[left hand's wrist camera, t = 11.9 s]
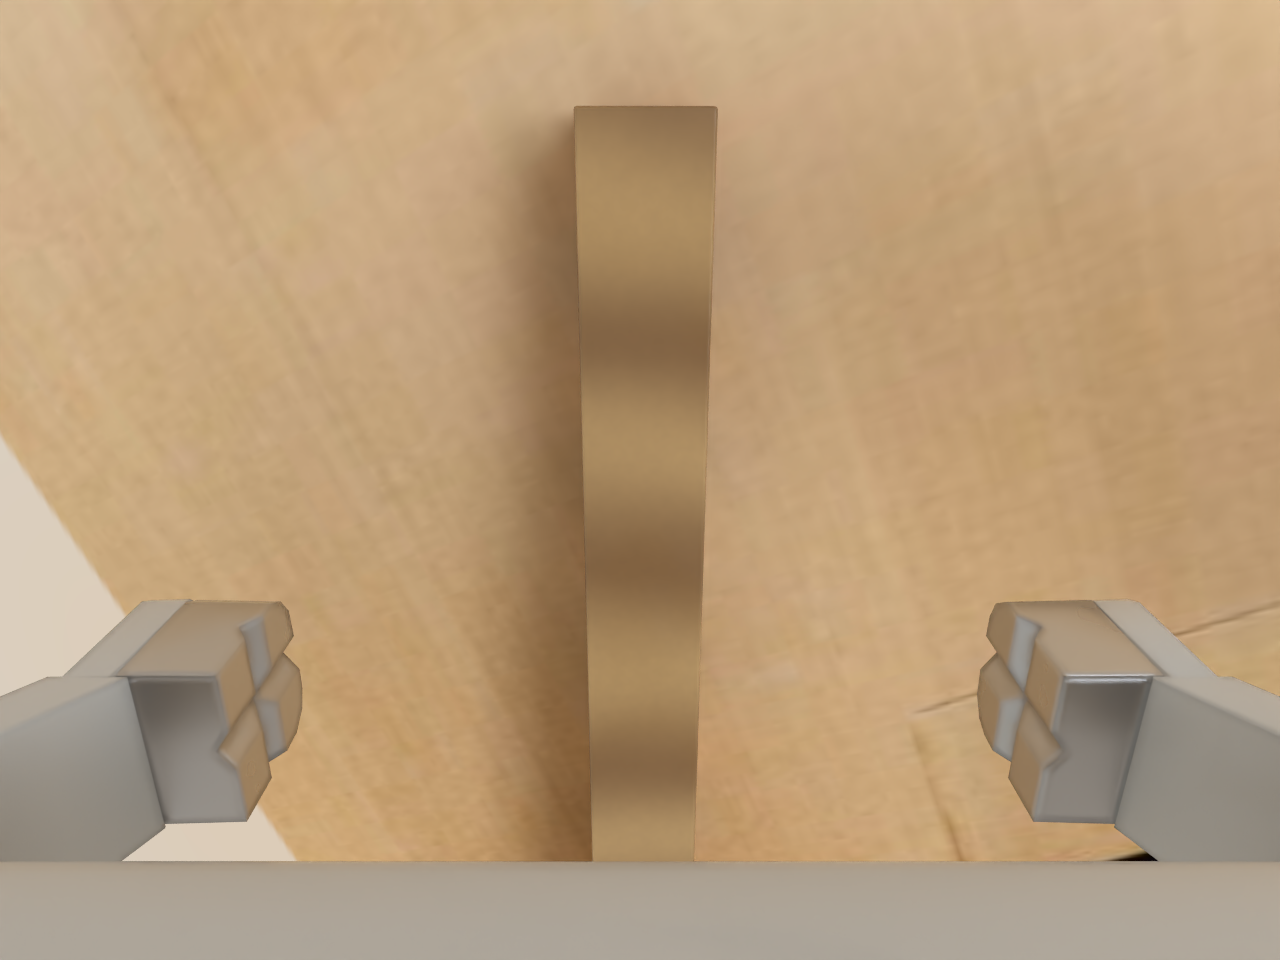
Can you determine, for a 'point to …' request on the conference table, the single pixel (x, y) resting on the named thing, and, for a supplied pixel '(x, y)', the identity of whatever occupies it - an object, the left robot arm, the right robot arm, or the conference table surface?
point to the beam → (644, 461)
